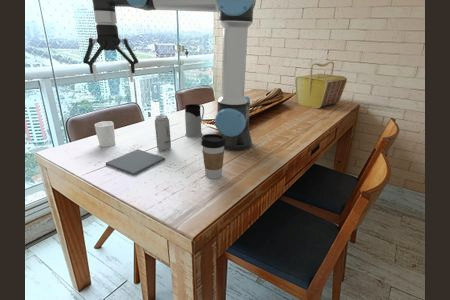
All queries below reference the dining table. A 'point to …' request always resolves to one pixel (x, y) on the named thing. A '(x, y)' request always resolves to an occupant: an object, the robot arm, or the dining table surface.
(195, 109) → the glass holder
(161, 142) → the energy drink can
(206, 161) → the coffee cup
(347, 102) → the dining table surface
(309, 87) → the picnic basket
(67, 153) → the dining table surface
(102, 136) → the white cup
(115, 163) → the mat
